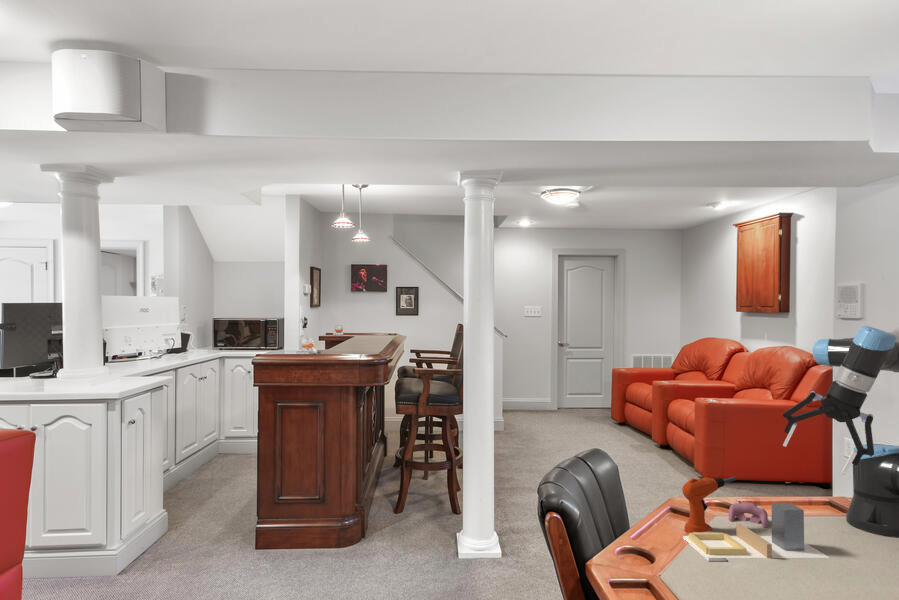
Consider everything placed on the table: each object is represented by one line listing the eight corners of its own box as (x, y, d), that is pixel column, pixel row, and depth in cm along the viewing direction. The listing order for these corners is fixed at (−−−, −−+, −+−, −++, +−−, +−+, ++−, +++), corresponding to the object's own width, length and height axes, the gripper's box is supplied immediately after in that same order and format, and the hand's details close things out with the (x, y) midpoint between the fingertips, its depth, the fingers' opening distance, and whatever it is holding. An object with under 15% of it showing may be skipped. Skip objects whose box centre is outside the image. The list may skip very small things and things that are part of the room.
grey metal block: (790, 542, 137) (790, 503, 138) (804, 550, 132) (803, 510, 133) (771, 542, 137) (771, 503, 138) (784, 550, 132) (784, 510, 133)
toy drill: (747, 523, 148) (741, 470, 148) (693, 539, 142) (688, 484, 142) (733, 517, 153) (727, 465, 153) (680, 532, 147) (675, 479, 147)
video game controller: (768, 533, 150) (768, 507, 152) (767, 530, 146) (767, 504, 149) (728, 525, 155) (729, 500, 158) (727, 522, 151) (728, 497, 154)
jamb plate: (793, 539, 141) (793, 523, 142) (829, 561, 128) (829, 544, 129) (683, 538, 141) (683, 523, 141) (708, 561, 128) (708, 544, 128)
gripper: (793, 366, 137) (759, 437, 142) (912, 413, 122) (870, 490, 128) (797, 362, 143) (764, 431, 148) (911, 407, 128) (870, 481, 134)
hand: (813, 458), depth 138 cm, fingers open, 13 cm apart
